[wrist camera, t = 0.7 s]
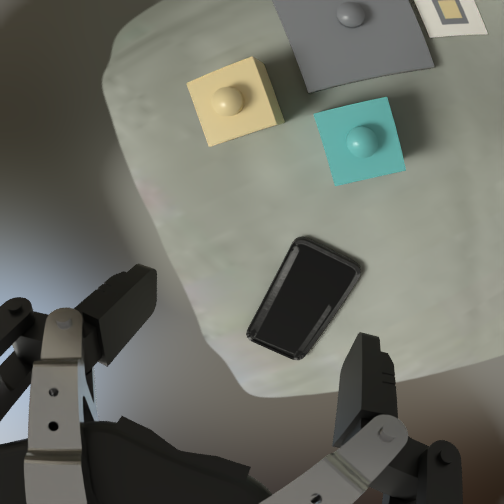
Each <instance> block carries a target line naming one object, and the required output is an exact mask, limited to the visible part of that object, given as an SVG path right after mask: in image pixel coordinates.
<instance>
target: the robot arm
mask: <svg viewBox="0 0 504 504" xmlns="http://www.w3.org/2000/svg"><path fill="white" fill-rule="evenodd" d="M156 301H157V272H156V270H155V269H153V268H150V267H147V266H144V265H141V264H136V265H135V266H134V267H133V268H132V269H130V270H129V271H128V272H121V273H119V274H116V275H113V276H112V277H110V278H109V279H108V280H107V281H106V282H105V283H104V284H102V285H101V286H100V287H99V288H98V289H97V290H95V291H94V292H93V293H91V294H90V295H89V296H88V297H87V298H86V299H84V300H83V301H82V302H81V303H80V304H79V305H78V306H76V307H75V308H74V309H72V308H59V309H56V310H54V311H53V312H51V313H50V314H49V315H47V314H43V313H38V312H34V311H33V309H32V305H31V303H30V301H29V300H27V299H26V298H21V297H17V298H12V299H10V300H8V301H6V302H5V303H4V304H3V305H2V306H0V356H1V355H2V354H3V353H4V352H5V351H6V350H7V349H8V348H9V347H10V346H11V345H13V348H14V352H12V354H11V355H10V356H9V357H8V358H7V359H6V360H5V361H4V362H3V363H2V364H1V365H0V421H1V420H2V419H3V417H4V416H5V415H6V413H7V412H8V411H9V410H10V408H11V407H12V406H13V405H14V403H15V402H16V401H17V400H18V398H19V397H20V396H21V395H22V393H23V392H24V391H25V390H26V389H27V387H28V386H29V385H30V384H31V389H30V403H29V422H28V438H27V439H23V440H18V441H14V442H10V443H5V444H0V504H352V503H353V502H354V501H355V500H356V499H357V498H358V497H360V495H361V494H363V493H364V492H365V491H366V489H367V488H368V487H371V488H373V489H376V490H378V491H380V492H382V493H383V501H382V504H463V503H462V502H463V498H462V467H461V457H460V453H459V451H458V449H457V448H456V447H455V446H454V445H453V444H451V443H450V442H448V441H444V440H439V441H436V442H434V443H433V444H432V445H430V446H427V445H425V444H422V443H420V442H418V441H416V440H413V439H412V438H410V437H409V436H408V433H407V429H406V427H405V426H404V424H403V423H402V422H401V421H400V420H399V419H398V413H397V397H396V386H395V384H396V383H395V377H394V376H395V372H394V364H393V362H392V360H391V358H390V356H389V355H388V353H385V352H381V351H380V339H379V337H377V336H373V335H369V334H365V333H362V332H360V333H359V334H358V335H357V337H356V339H355V341H354V343H353V345H352V347H351V349H350V351H349V353H348V355H347V357H346V359H345V361H344V363H343V366H342V369H341V373H340V383H339V394H338V403H337V413H336V421H335V430H334V437H333V445H332V446H333V447H338V448H339V449H338V450H337V451H336V452H334V453H333V454H329V455H328V456H326V457H325V458H324V459H322V460H321V461H320V462H318V463H317V464H316V465H315V466H313V467H312V468H311V469H309V470H308V471H306V472H305V473H304V474H303V475H301V476H300V477H298V478H297V479H295V480H294V481H293V482H291V483H290V484H288V485H287V486H285V487H284V488H282V489H281V490H280V491H278V492H276V493H275V494H273V495H272V494H271V492H270V491H269V490H268V489H267V488H266V487H265V486H264V485H263V484H262V483H260V482H259V481H257V480H256V479H255V478H253V477H251V476H249V475H248V473H249V470H250V467H249V466H246V465H242V464H239V463H236V462H233V461H230V460H227V459H224V458H221V457H218V456H211V455H203V454H196V453H190V452H184V451H180V450H177V449H176V448H175V447H173V446H172V445H171V444H169V443H168V442H166V441H165V440H164V439H162V438H161V437H160V436H158V435H157V434H156V433H154V432H153V431H152V430H150V429H148V428H146V427H144V426H142V425H140V424H137V423H135V422H133V421H131V420H129V419H127V418H125V417H123V416H122V417H121V418H120V419H119V421H118V422H117V423H115V422H109V421H100V420H99V416H98V412H97V404H96V391H95V375H94V367H93V366H94V365H95V364H96V363H97V362H100V363H101V364H104V365H105V366H107V367H108V365H109V364H110V363H111V362H112V361H113V359H114V358H115V357H116V356H117V355H118V353H119V352H120V351H121V350H122V349H123V347H124V346H125V345H126V344H127V343H128V342H129V340H130V339H131V338H132V337H133V336H134V335H135V334H136V332H137V331H138V330H139V329H140V328H141V327H142V325H143V324H144V323H145V322H146V321H147V320H148V318H149V317H150V316H151V315H152V313H153V312H154V309H155V306H156Z"/></svg>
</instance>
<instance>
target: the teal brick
mask: <svg viewBox="0 0 504 504" xmlns="http://www.w3.org/2000/svg"><path fill="white" fill-rule="evenodd" d="M314 117H315V120H316V123H317V127H318V130H319V133H320V136H321V139H322V143H323V146H324V149H325V153H326V156H327V159H328V163H329V166H330V170H331V173H332V177H333V181H334V184H335V186H338V185H343V184H347V183H351V182H356V181H360V180H364V179H369V178H373V177H378V176H382V175H387V174H392V173H396V172H401V171H406V169H405V164H404V159H403V155H402V151H401V146H400V142H399V138H398V134H397V130H396V127H395V123H394V119H393V116H392V112H391V109H390V105H389V102H388V99H387V97H383V98H378V99H373V100H369V101H364V102H360V103H355V104H351V105H347V106H342V107H338V108H334V109H330V110H326V111H322V112H319V113H315V114H314Z"/></svg>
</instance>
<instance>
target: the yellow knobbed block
mask: <svg viewBox="0 0 504 504" xmlns="http://www.w3.org/2000/svg"><path fill="white" fill-rule="evenodd" d="M187 86H188V89H189V92H190V95H191V98H192V100H193V103H194V106H195V109H196V112H197V114H198V117H199V120H200V123H201V126H202V128H203V131H204V134H205V137H206V139H207V142H208V145H209V147H211V146H214V145H217V144H220V143H223V142H227V141H229V140H232V139H235V138H238V137H241V136H244V135H247V134H250V133H253V132H256V131H259V130H263V129H266V128H269V127H272V126H275V125H279V124H282V123H285V121H284V118H283V115H282V112H281V109H280V107H279V104H278V101H277V98H276V95H275V92H274V90H273V87H272V84H271V81H270V79H269V76H268V73H267V70H266V68H265V65H264V64H263V63H262V62H260V61H259V60H257V59H256V58H254V57H250V58H247V59H244V60H241V61H239V62H236V63H233V64H231V65H228V66H226V67H223V68H221V69H218V70H216V71H214V72H211V73H209V74H206V75H204V76H202V77H200V78H197V79H195V80H193V81H191V82H188V83H187Z"/></svg>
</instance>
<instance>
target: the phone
mask: <svg viewBox="0 0 504 504" xmlns="http://www.w3.org/2000/svg"><path fill="white" fill-rule="evenodd" d="M359 277H360V267H359V265H358V263H356V262H355V261H353V260H351V259H349V258H347V257H345V256H343V255H341V254H339V253H337V252H335V251H333V250H331V249H329V248H327V247H325V246H323V245H321V244H319V243H317V242H314V241H312V240H310V239H308V238H305V237H299V238H296V239H295V240H294V241H293V242H292V244H291V246H290V248H289V250H288V252H287V254H286V256H285V258H284V260H283V262H282V264H281V266H280V268H279V270H278V272H277V274H276V276H275V278H274V280H273V281H272V283H271V285H270V287H269V289H268V291H267V293H266V295H265V297H264V299H263V301H262V303H261V305H260V307H259V309H258V310H257V312H256V314H255V316H254V318H253V320H252V322H251V324H250V326H249V328H248V330H247V333H246V335H247V337H248V339H249V340H251V341H252V342H254V343H257V344H259V345H261V346H263V347H265V348H268V349H270V350H272V351H274V352H277V353H279V354H281V355H283V356H286V357H288V358H290V359H293V360H300V359H303V358H304V357H305V355H306V354H307V353H308V351H309V350H310V349H311V347H312V346H313V344H314V343H315V342H316V340H317V339H318V338H319V336H320V335H321V333H322V332H323V331H324V329H325V328H326V326H327V325H328V324H329V322H330V321H331V319H332V318H333V316H334V315H335V313H336V312H337V311H338V309H339V308H340V306H341V305H342V303H343V302H344V300H345V299H346V297H347V296H348V294H349V293H350V291H351V290H352V288H353V287H354V285H355V284H356V282H357V281H358V279H359Z"/></svg>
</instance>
